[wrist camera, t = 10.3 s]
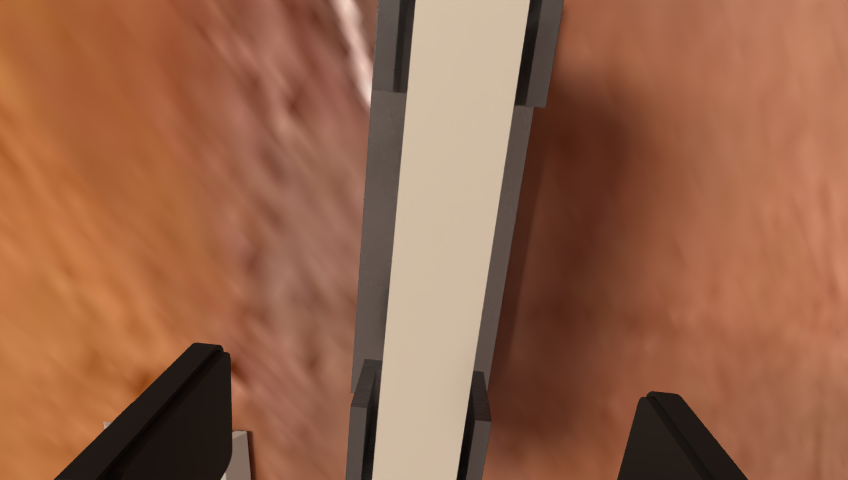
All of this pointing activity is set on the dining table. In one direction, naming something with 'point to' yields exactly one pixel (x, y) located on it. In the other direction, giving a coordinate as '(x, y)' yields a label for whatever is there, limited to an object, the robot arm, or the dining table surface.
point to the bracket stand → (381, 219)
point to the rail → (444, 227)
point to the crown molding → (234, 457)
